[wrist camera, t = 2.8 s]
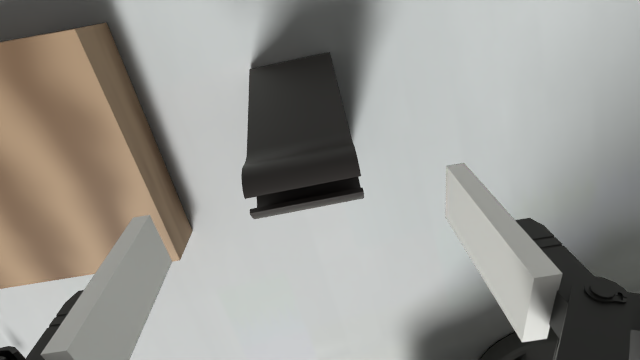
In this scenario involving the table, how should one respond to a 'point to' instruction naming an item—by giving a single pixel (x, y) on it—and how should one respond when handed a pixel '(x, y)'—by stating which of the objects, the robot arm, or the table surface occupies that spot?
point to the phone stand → (298, 139)
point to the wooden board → (75, 158)
